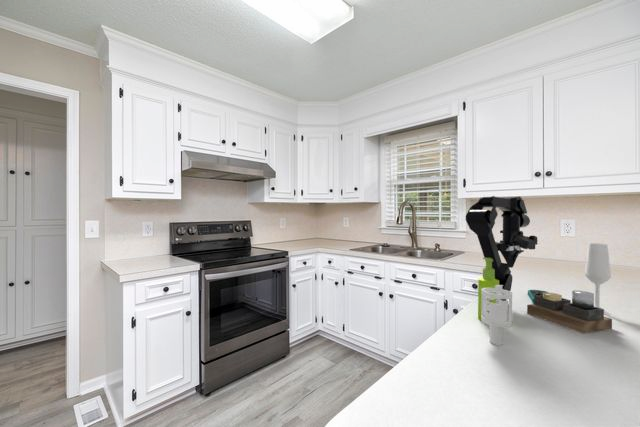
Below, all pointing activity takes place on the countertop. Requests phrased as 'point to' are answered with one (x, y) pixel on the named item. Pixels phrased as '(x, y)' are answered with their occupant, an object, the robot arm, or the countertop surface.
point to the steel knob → (583, 299)
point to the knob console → (570, 315)
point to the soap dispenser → (486, 282)
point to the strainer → (496, 312)
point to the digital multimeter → (535, 294)
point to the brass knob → (552, 296)
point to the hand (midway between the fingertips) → (510, 267)
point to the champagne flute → (598, 268)
